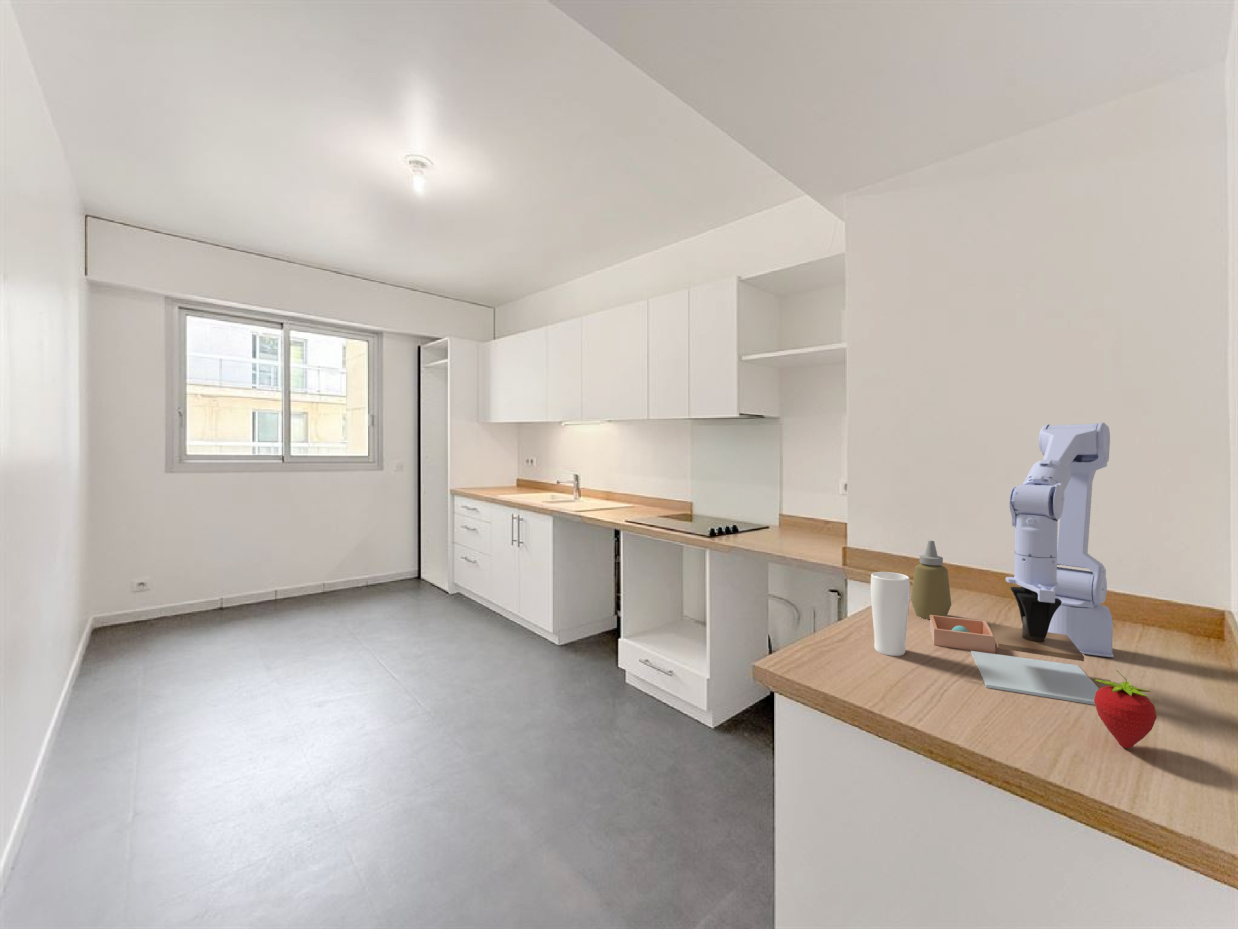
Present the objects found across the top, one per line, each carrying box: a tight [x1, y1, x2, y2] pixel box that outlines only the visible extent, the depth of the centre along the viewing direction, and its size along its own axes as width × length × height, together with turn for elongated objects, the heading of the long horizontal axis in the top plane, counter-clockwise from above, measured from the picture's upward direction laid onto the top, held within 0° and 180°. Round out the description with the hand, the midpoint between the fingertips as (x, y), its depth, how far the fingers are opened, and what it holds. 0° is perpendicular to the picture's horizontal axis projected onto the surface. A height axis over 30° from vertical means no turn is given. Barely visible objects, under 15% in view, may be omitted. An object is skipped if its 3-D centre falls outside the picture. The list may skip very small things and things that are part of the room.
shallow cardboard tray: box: [929, 615, 996, 654], centre depth 106 cm, size 10×10×4 cm
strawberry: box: [1094, 669, 1158, 749], centre depth 69 cm, size 6×8×10 cm
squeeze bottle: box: [910, 540, 952, 620], centre depth 121 cm, size 8×8×18 cm
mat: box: [970, 650, 1100, 706], centre depth 90 cm, size 16×16×1 cm
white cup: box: [870, 571, 911, 657], centre depth 101 cm, size 7×7×15 cm
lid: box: [989, 616, 1085, 662], centre depth 90 cm, size 11×11×4 cm
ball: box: [952, 626, 968, 632], centre depth 106 cm, size 3×3×3 cm
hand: (1034, 633), depth 90 cm, fingers closed on lid, 3 cm apart
